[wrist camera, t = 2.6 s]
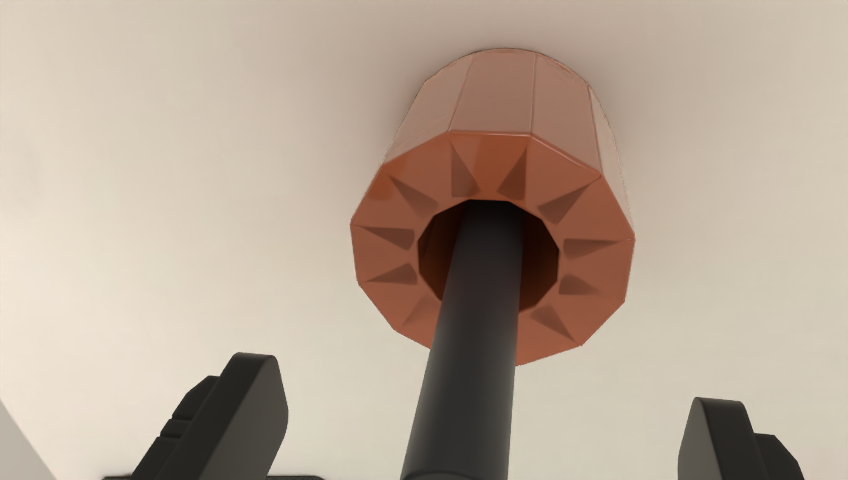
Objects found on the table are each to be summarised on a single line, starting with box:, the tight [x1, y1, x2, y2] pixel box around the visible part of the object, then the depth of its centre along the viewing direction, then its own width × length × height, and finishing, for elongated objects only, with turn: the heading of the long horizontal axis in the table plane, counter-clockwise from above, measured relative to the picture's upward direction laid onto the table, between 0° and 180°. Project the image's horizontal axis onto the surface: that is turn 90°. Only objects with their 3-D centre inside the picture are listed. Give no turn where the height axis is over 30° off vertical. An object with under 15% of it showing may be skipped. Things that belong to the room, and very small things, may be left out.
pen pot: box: [350, 48, 635, 366], centre depth 19 cm, size 7×7×7 cm
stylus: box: [400, 199, 525, 480], centre depth 16 cm, size 2×2×14 cm
